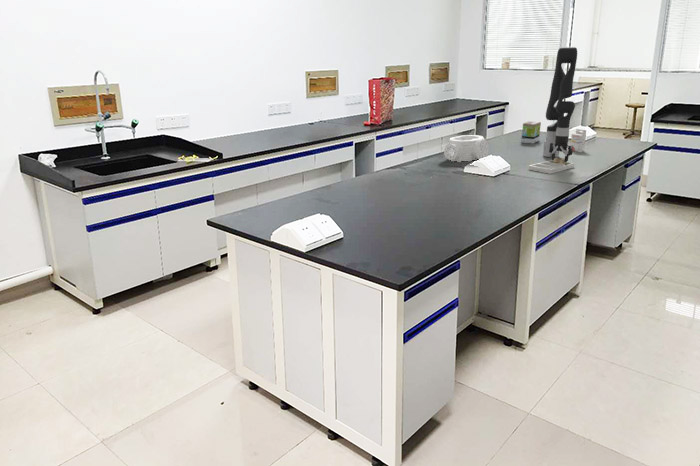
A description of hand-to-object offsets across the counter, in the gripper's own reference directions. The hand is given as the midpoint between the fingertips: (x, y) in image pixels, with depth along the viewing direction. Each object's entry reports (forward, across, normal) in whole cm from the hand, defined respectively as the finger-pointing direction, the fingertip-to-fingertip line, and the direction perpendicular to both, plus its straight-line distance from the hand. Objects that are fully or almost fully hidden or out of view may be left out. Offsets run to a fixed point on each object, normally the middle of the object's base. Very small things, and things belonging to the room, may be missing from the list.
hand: (559, 160), depth 336 cm
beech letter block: (+4, 0, 0) cm, 4 cm away
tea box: (+4, -64, +61) cm, 88 cm away
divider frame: (+4, 0, -8) cm, 9 cm away
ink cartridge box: (+4, -20, +53) cm, 57 cm away
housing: (+4, -54, -22) cm, 59 cm away
